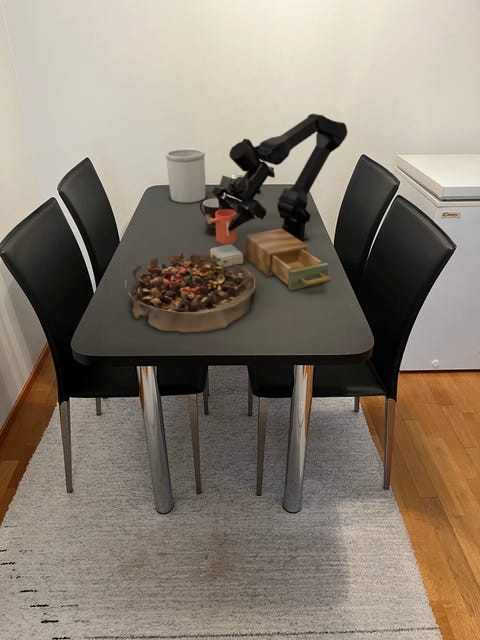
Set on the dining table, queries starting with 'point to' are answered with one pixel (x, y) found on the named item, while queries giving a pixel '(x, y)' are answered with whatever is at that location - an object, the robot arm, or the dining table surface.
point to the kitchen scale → (227, 255)
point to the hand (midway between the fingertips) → (222, 227)
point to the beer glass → (234, 206)
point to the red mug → (224, 226)
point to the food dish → (191, 294)
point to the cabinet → (269, 247)
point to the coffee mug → (210, 214)
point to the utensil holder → (186, 174)
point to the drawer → (299, 269)
